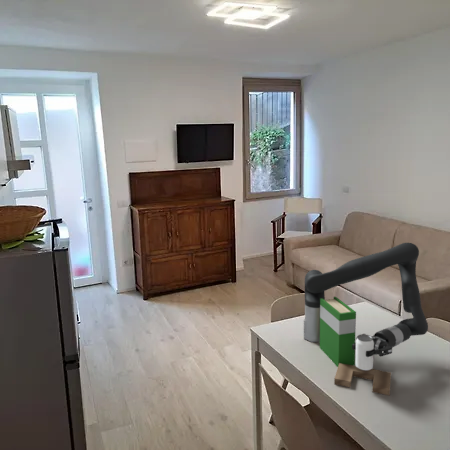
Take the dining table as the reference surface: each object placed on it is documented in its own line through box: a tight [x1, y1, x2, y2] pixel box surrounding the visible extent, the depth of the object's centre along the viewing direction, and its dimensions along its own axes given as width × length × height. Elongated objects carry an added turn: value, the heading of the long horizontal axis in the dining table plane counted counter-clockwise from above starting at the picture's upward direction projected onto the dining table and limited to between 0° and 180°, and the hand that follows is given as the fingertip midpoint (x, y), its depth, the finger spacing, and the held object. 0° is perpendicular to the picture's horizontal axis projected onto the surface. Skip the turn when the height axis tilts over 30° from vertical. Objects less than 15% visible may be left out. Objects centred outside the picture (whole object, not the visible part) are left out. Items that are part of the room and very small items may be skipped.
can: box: [354, 333, 375, 371], centre depth 155 cm, size 6×6×12 cm
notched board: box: [333, 363, 392, 396], centre depth 160 cm, size 20×12×2 cm, turn 66°
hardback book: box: [319, 296, 357, 368], centre depth 177 cm, size 18×7×24 cm, turn 13°
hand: (359, 350), depth 154 cm, fingers closed on can, 6 cm apart
